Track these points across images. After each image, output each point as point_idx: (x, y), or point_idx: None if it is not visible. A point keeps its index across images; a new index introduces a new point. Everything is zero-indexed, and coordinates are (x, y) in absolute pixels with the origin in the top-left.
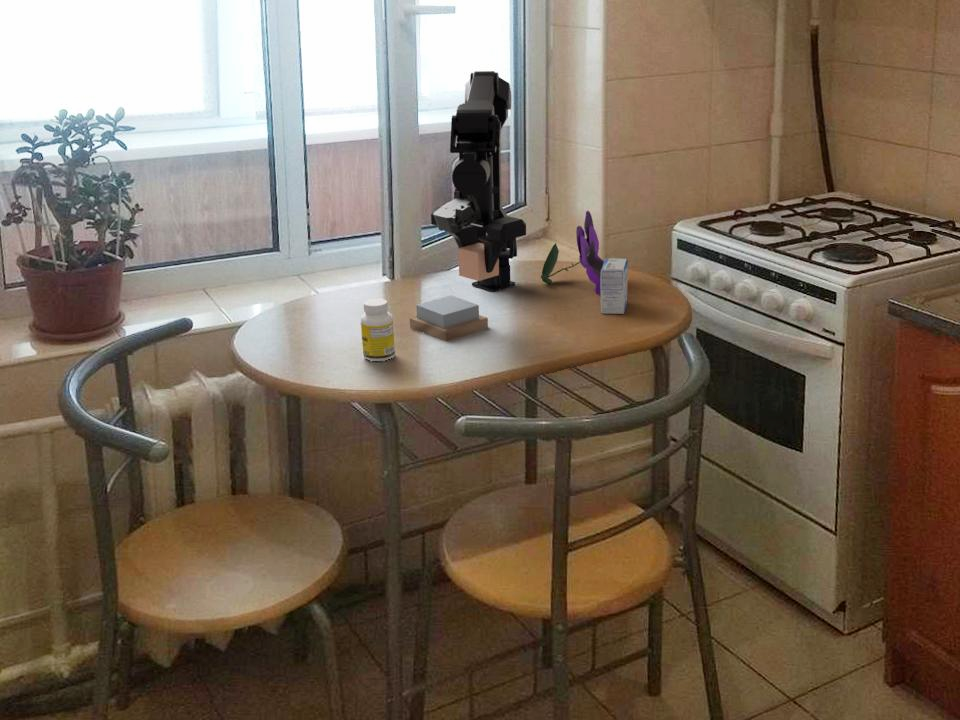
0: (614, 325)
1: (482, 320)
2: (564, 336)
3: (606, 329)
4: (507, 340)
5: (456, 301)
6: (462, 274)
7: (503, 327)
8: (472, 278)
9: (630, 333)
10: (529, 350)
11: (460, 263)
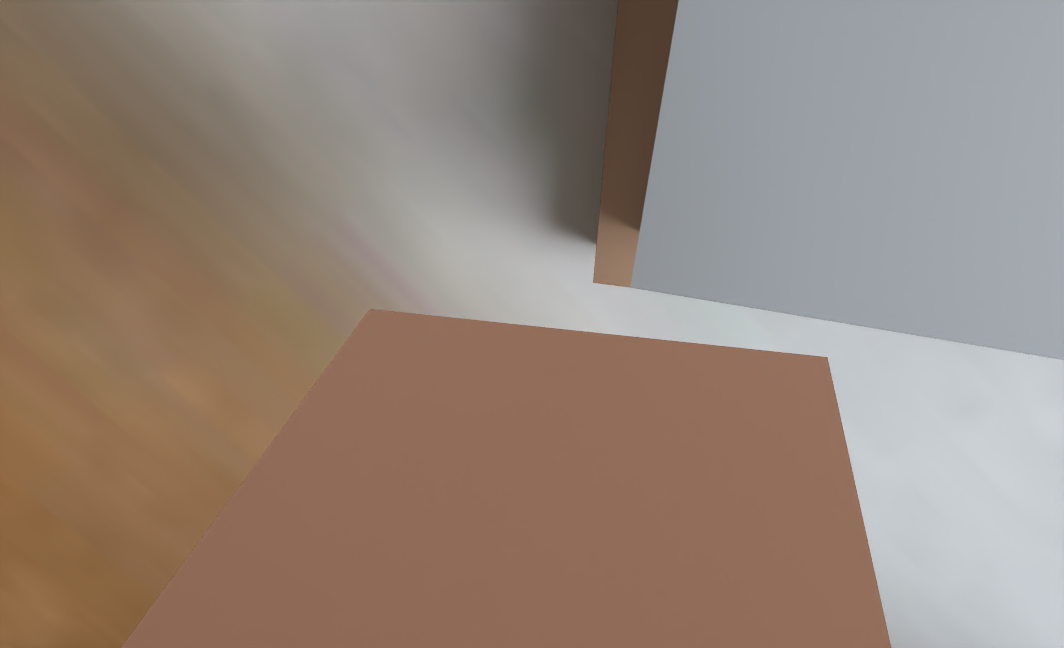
0: (137, 609)
1: (599, 225)
2: (138, 382)
3: (110, 556)
4: (289, 121)
5: (912, 246)
6: (740, 367)
7: (516, 308)
8: (496, 328)
9: (7, 562)
10: (35, 63)
11: (801, 502)
